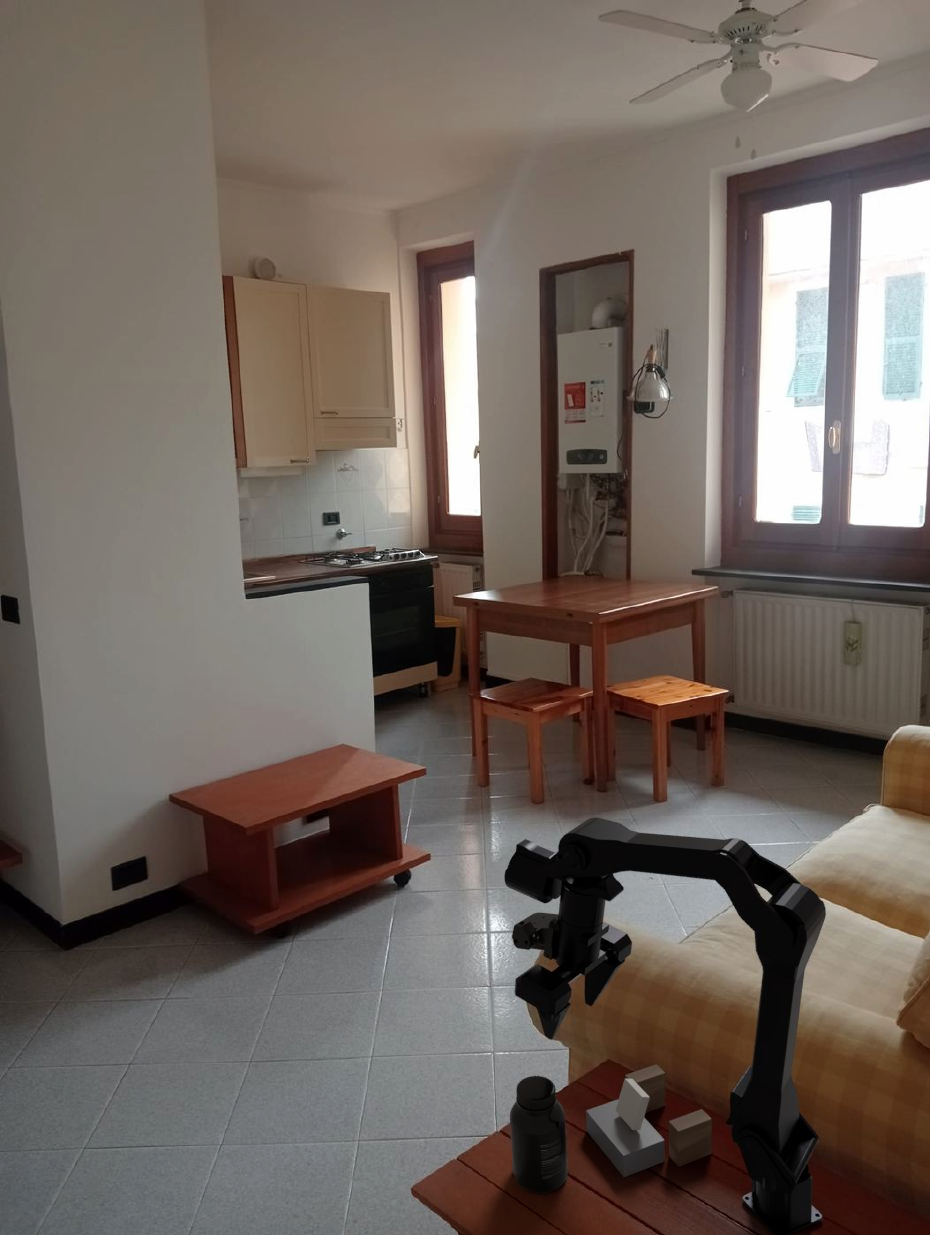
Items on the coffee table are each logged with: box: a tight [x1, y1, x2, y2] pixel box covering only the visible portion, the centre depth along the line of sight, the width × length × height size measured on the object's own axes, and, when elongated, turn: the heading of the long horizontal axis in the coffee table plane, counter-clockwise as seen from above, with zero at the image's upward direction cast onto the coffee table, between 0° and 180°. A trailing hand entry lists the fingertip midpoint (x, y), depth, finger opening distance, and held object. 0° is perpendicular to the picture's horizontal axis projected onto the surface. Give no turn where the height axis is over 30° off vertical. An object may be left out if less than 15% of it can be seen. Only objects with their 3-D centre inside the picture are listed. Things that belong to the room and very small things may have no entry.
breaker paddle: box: [616, 1078, 650, 1130], centre depth 121 cm, size 4×1×4 cm, turn 23°
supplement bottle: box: [509, 1075, 569, 1194], centre depth 117 cm, size 7×7×12 cm
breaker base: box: [585, 1098, 666, 1178], centre depth 122 cm, size 9×6×3 cm, turn 23°
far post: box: [624, 1064, 666, 1114], centre depth 129 cm, size 2×5×5 cm, turn 113°
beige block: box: [668, 1108, 713, 1167], centre depth 119 cm, size 2×5×5 cm, turn 113°
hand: (569, 1020), depth 125 cm, fingers open, 9 cm apart
